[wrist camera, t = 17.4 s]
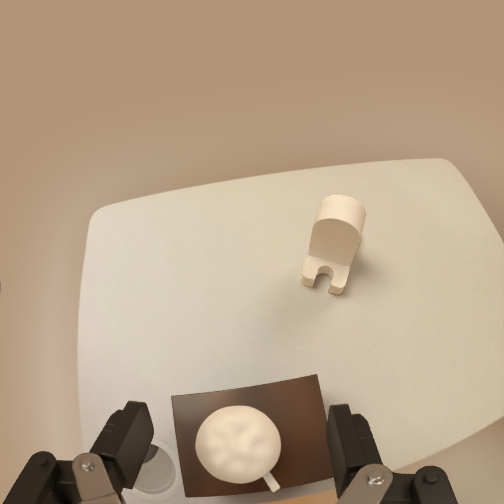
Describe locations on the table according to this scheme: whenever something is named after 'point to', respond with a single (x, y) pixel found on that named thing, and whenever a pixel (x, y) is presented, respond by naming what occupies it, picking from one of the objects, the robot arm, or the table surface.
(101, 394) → the table surface
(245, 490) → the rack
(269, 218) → the table surface
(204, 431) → the milkshake
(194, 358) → the table surface
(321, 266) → the cream mounting bracket
